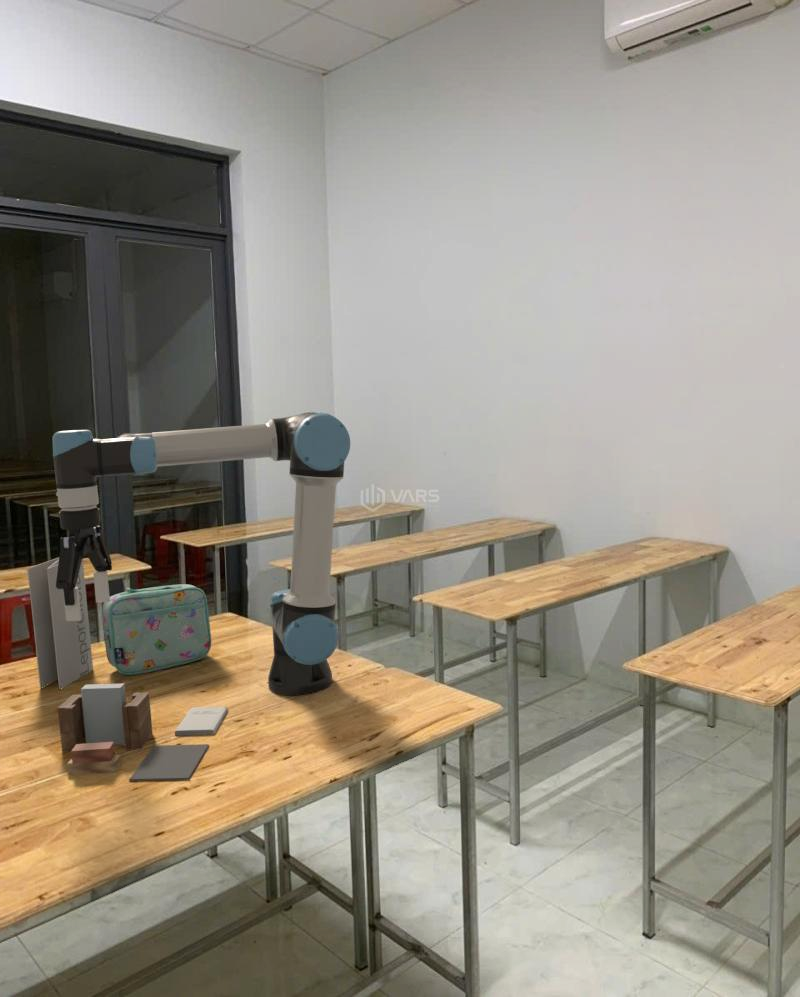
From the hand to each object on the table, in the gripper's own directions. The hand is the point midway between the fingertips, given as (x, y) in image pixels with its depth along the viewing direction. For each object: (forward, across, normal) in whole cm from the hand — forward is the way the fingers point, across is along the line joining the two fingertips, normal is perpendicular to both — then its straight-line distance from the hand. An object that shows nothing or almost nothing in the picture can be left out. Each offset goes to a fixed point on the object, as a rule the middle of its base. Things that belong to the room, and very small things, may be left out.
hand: (89, 611), depth 167 cm
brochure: (+27, -34, -24) cm, 49 cm away
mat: (+27, +13, +19) cm, 35 cm away
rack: (+27, +3, +3) cm, 27 cm away
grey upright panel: (+27, +3, +3) cm, 27 cm away
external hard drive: (+28, -6, +20) cm, 34 cm away
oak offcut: (+27, +15, +5) cm, 32 cm away
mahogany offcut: (+25, +15, +5) cm, 29 cm away
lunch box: (+27, -43, -3) cm, 51 cm away
